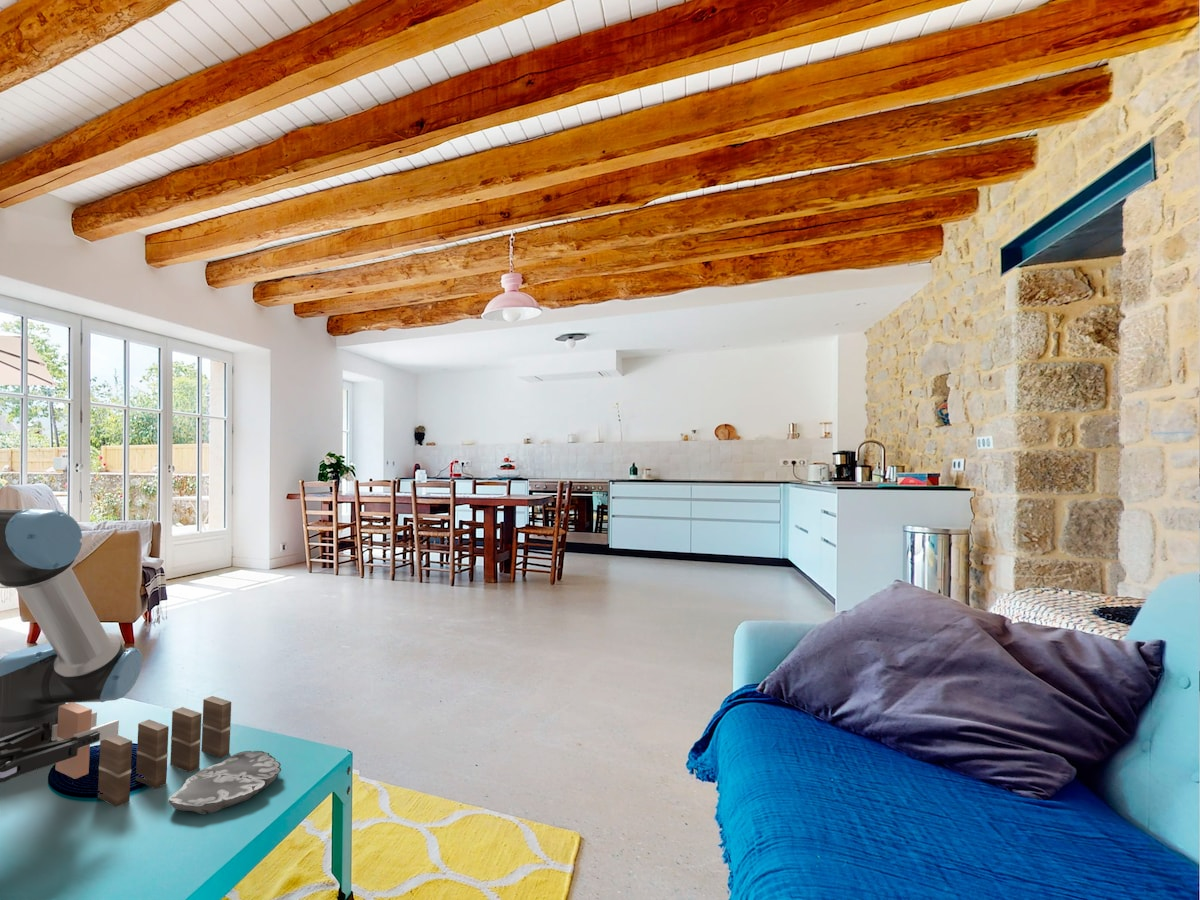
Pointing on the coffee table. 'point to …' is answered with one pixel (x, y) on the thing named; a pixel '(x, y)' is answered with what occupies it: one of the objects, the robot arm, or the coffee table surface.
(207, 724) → the domino
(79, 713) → the domino
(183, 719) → the domino
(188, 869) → the coffee table surface
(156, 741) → the domino
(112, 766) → the domino
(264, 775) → the brain slice
